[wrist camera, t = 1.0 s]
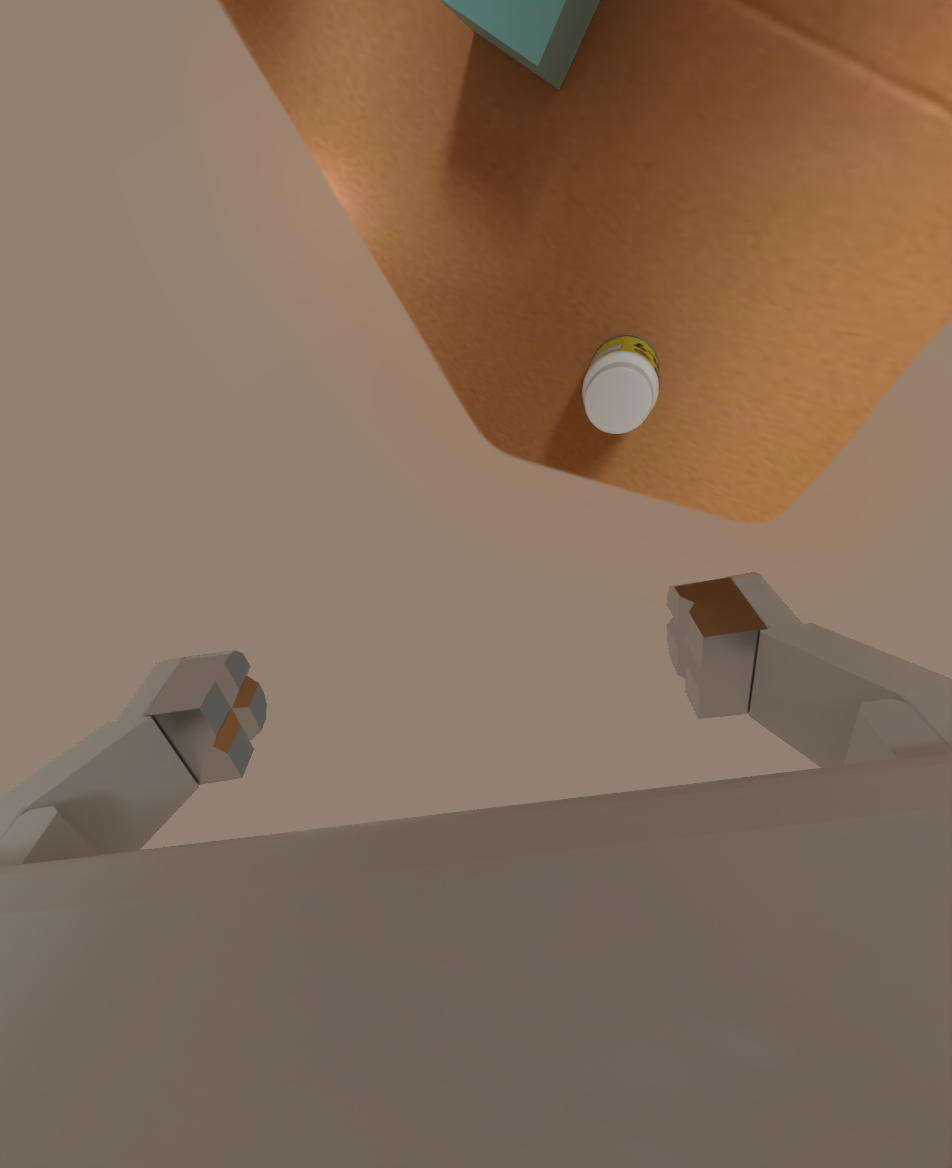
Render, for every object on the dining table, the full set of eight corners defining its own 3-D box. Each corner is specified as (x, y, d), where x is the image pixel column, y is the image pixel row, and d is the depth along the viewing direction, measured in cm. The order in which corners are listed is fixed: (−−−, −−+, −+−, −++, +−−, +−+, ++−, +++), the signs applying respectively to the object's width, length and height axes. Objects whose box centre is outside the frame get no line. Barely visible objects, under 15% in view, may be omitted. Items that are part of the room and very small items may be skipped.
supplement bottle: (670, 381, 40) (673, 418, 33) (608, 413, 42) (600, 454, 35) (640, 318, 38) (637, 344, 31) (578, 355, 40) (563, 387, 34)
